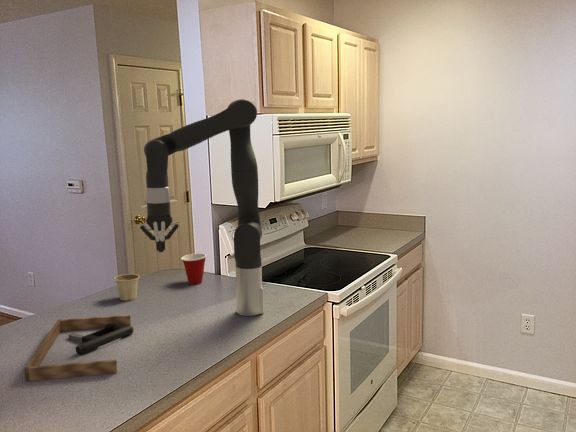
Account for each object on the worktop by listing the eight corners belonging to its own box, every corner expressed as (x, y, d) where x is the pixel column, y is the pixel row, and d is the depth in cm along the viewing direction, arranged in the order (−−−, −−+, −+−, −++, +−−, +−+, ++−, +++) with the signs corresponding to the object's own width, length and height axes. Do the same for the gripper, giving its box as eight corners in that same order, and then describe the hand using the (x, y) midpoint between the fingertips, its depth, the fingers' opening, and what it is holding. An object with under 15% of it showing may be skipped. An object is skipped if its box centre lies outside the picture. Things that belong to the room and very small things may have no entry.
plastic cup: (181, 280, 225) (180, 253, 223) (206, 278, 228) (205, 252, 226) (182, 287, 215) (181, 259, 213) (208, 285, 217) (207, 257, 215)
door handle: (50, 338, 157) (83, 347, 148) (105, 318, 174) (137, 325, 165) (51, 348, 157) (84, 358, 149) (106, 328, 174) (138, 335, 165)
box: (130, 324, 174) (130, 314, 173) (116, 373, 139) (115, 360, 138) (58, 329, 169) (58, 319, 169) (25, 381, 134) (24, 368, 134)
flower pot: (118, 294, 205) (117, 274, 204) (142, 294, 206) (141, 273, 204) (113, 302, 196) (111, 280, 194) (138, 301, 197) (136, 280, 195)
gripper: (178, 198, 173) (181, 248, 176) (138, 199, 171) (141, 250, 174) (178, 201, 166) (181, 253, 169) (136, 203, 164) (139, 255, 166)
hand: (160, 251), depth 171 cm, fingers closed
